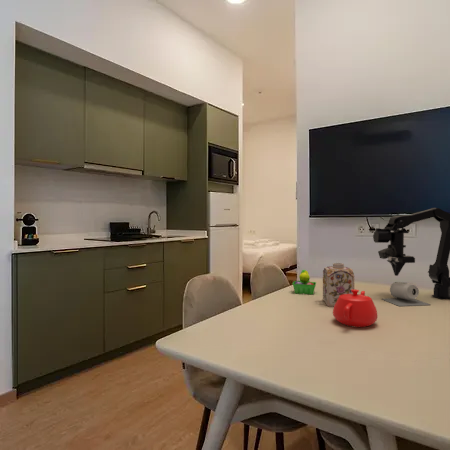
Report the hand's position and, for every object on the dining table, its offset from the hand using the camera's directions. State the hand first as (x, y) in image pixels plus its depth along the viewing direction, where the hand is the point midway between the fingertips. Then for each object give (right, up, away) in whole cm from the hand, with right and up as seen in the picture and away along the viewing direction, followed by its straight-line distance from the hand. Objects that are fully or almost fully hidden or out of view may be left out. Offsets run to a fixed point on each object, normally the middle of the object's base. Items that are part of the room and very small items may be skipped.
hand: (396, 275), depth 168 cm
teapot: (-33, -12, -37) cm, 51 cm away
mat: (0, -11, -8) cm, 13 cm away
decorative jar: (-31, -11, -10) cm, 34 cm away
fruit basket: (-41, -11, +12) cm, 44 cm away
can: (0, -7, +1) cm, 7 cm away
